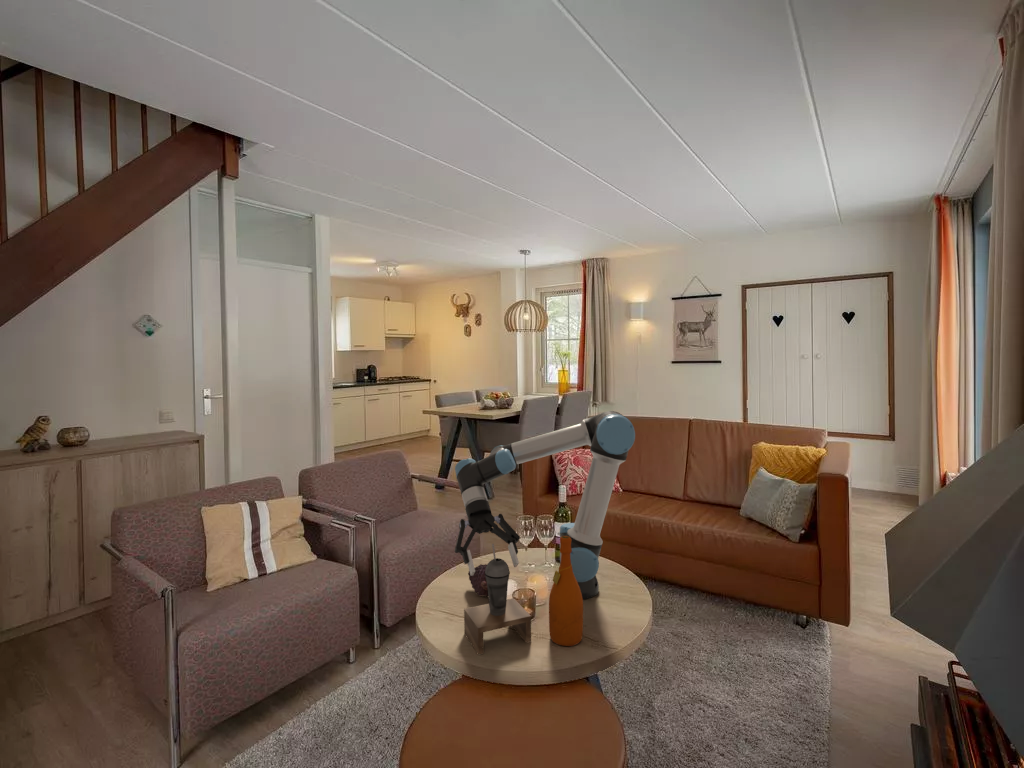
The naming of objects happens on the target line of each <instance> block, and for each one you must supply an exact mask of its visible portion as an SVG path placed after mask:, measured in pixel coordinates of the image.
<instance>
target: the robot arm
mask: <svg viewBox="0 0 1024 768" xmlns="http://www.w3.org/2000/svg"><path fill="white" fill-rule="evenodd" d="M635 440H636V431H635V427H634V424H633V423H632V422H631V420H630V419H629V418H628V417H627V416H624V415H623V414H622V413H620V412H617V411H614V410H608V411H604V412H601V413H598V414H596V415H593V416H590V417H588V418H584V419H582V421H581V422H580V423H578V424H574V425H571V426H568V427H564V428H560V429H556V430H554V431H550V432H547V433H543V434H539V435H536V436H533V437H532V436H531V437H529V438H526V439H522V440H519V441H515V442H512V443H509V444H505V445H502V444H501V445H497V446H494V447H493V448H492V450H491V451H490V453H489V455H488V456H486V457H484V458H483V459H482V458H481V460H478V461H476V459H473V458H470V457H469V458H466V459H465V458H464V459H461V460H459V461H458V462H457V463H456V464H455V467H454V471H455V477H456V480H457V483H458V484H457V485H458V487H459V491H460V494H461V499H462V502H463V506H464V510H465V514H466V517H467V520H465V519H464V518H462V519H460V521H459V523H458V529H459V531H458V536H457V540H456V543H455V548H454V553H456V554H460V555H461V556H462V560H463V563H464V565H467V567H468V572H469V571H470V575H471V576H472V575H474V573H475V568H474V567H475V565H474V561H473V557H472V553H471V550H470V549H468V548H469V546H470V544H471V542H472V540H473V538H474V536H475V535H476V533H477V534H486V533H487V534H488V533H489V532H490V533H492V534H494V535H495V536H496V537H498V538H500V539H501V540H502V541H504V542H505V543H506V544H507V545H508V546H507V549H508V552H509V555H510V559H511V561H512V564H513V568H517V567H518V565H519V564H520V560H519V558H518V553H519V550H518V546H517V543H518V542H519V541H520V539H521V537H520V535H519V533H517V532H516V531H515V530H514V528H513V527H512V526H511V525H510V524H509V523H508V522H507V521H506V519H505V518H504V516H503V514H502V513H499V514H498V515H496V516H494V515H493V514H492V510H491V506H490V504H489V501H488V500H489V499H488V496H487V493H486V491H485V487H484V484H487V483H489V482H492V481H494V480H495V479H497V478H500V477H502V476H505V475H508V474H509V473H511V472H512V471H514V470H516V467H517V465H519V464H523V463H526V462H530V461H534V460H537V459H541V458H544V457H548V456H551V455H552V456H553V455H554V454H558V453H561V452H566V451H570V450H572V449H577V448H580V447H583V446H589V447H590V449H589V450H590V451H589V452H590V453H591V454H592V460H591V463H590V467H589V470H588V474H587V477H586V480H585V481H586V482H585V485H584V488H583V492H582V496H581V499H580V503H579V505H578V510H577V513H576V517H575V521H574V522H567V523H566V522H565V523H562V524H561V525H560V526H559V532H558V533H559V538H560V537H562V536H569V537H570V538H571V549H572V552H571V553H570V559H571V564H572V569H573V573H574V576H575V578H576V580H577V583H578V585H579V588H580V590H581V594H582V598H583V600H586V599H591V598H593V597H595V596H596V595H598V594H599V590H600V589H599V587H600V586H599V585H600V584H599V580H598V578H597V573H598V571H599V567H600V561H599V557H600V554H601V550H602V546H603V542H604V541H603V539H602V538H601V531H602V528H603V525H604V521H605V518H606V514H607V510H608V507H609V504H610V503H609V502H610V499H611V496H612V493H613V489H614V485H615V482H616V479H617V475H618V472H619V467H620V465H621V464H623V463H624V462H626V461H627V457H628V454H629V451H630V450H631V448H632V447H633V445H634V443H635ZM467 526H468V527H469V528H471V529H472V530H471V532H470V533H469V535H468V537H467V539H466V541H465V543H464V545H463V546H462V543H463V540H464V539H463V538H464V533H465V529H466V528H467ZM560 563H561V553H560V552H559V564H560Z"/></svg>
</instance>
